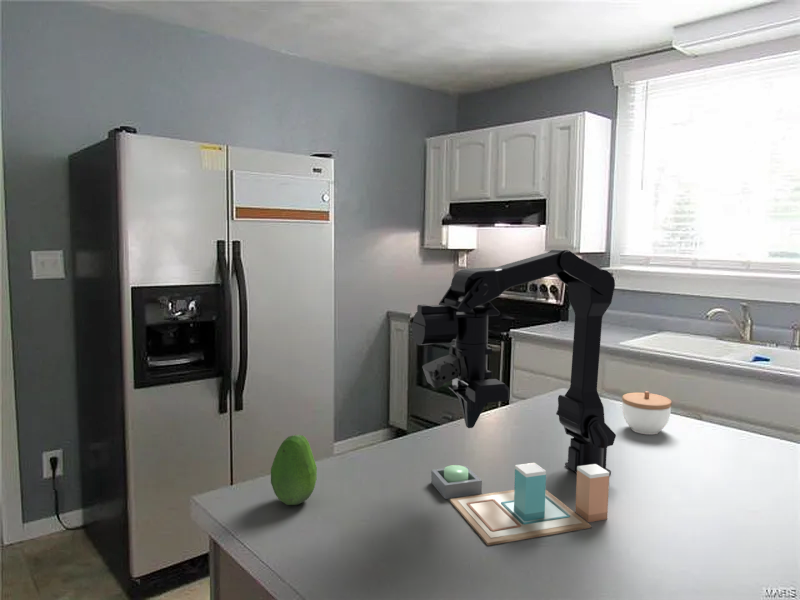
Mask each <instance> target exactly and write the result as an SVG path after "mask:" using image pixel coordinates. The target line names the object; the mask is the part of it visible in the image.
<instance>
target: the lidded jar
mask: <svg viewBox="0 0 800 600" xmlns="http://www.w3.org/2000/svg"><path fill="white" fill-rule="evenodd" d="M621 398H622V415H623V419H624V420H625V423H626V424H627V425H628V427H630V429H631V431H633V432H635V433H637V434H641V435H648V436H649V435H650V436H651V435H653V436H654V435H658V434H659V433H660V431H662V430H663V429H664V428H665V427H666V426H667V425H668V423H669V420H670V417H671V411H672V402H673V401H672V399H670V398H668V397H666V396H663V395H660V394H656V393H652V392H651V393H650V391H647V390H646V391H644V392H628V393H625V394H623V395H622V397H621Z"/></svg>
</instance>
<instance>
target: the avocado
mask: <svg viewBox="0 0 800 600" xmlns="http://www.w3.org/2000/svg"><path fill="white" fill-rule="evenodd" d="M317 473H318V469H317V463H316V461H315V458H314V454H313V450H312V448H311V444H310V442H309V441H308V439H307V437H306V436H304V435H301V434H293V435H290V436H287V437H286V438H285V439H284V440H283V441H282V443H281V444H280V446H279V448H278V449H277V451H276V454H275V456H274V458H273V462H272V465H271V468H270V484H271V487H272V490H273V493H274V495H275V496H276V498H278V500H279V501H280V502H282V504H285V505H287V506H298V505H300V504H301V503H304V502H305V501H307V500H308V499H309V498H310V497H311V495H312V493H313V492H314V490H315V488H316V483H317V477H318V474H317Z"/></svg>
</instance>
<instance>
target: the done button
mask: <svg viewBox="0 0 800 600" xmlns="http://www.w3.org/2000/svg"><path fill="white" fill-rule="evenodd" d="M464 466H465V465H459V464H452V465H447V466H445V467H443V468H444V479H445V480H446V481H447V483H451V482H459V481H466V480H468V469H467V468H466V467H464Z"/></svg>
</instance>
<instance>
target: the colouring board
mask: <svg viewBox="0 0 800 600" xmlns="http://www.w3.org/2000/svg"><path fill="white" fill-rule="evenodd" d="M449 502H450V503H451V504H452V505H453V507H454V508H455V509H456V510H457V511H458V512H459V514H460V515H461V516H462V517H463V518H464V519H465V520H466V522H467V523H468V524H469V525H470V527H471V528H472V529H473V530H474V531H475V532H476V534H477V535H478V536H479V537H480V538H481V540H482V541H483V542H484V543H485V544H486V546H493V545H497V544H498V545H499V544H503V543H510V542H515V541H521V540H528V539H533V538H534V539H535V538H538V537H545V536H551V535H556V534H563V533H568V532H573V531H580V530H586V529H591V528H592V525H591V524H590V522H587V521H586V520H585V519H584V518H582V517H581V516H580V515H578V514H577V513H576V512H575V511H574V510H572V509H571V508H570V507H568V505H566V504H565V503H564V502H562V501H561V500H560V499H559V498H557V497H556V496H554V495H553V494H552V493H551V492H550V491H549V490H547V489H546V490H545V518H544V519H537V520H531V521H524V520H523V519H521V518H520V517H519V516H518V515H517V514H516V513H515V512H514V489H510V490H509V489H508V490H503V491H495V492H489V493H482V494H477V495H470V496H463V497H456V498H449Z"/></svg>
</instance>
